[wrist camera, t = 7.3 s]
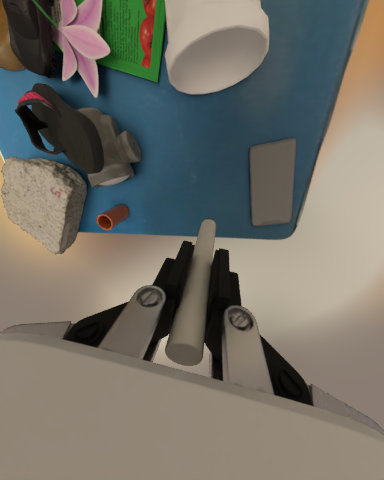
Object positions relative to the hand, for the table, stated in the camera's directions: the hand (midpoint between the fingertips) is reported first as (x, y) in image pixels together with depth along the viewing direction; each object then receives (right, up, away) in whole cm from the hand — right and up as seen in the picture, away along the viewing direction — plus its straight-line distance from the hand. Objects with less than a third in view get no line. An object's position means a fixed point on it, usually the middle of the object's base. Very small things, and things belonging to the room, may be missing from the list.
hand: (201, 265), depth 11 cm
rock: (-32, +13, +31) cm, 46 cm away
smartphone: (+14, +12, +22) cm, 29 cm away
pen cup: (-17, +8, +30) cm, 35 cm away
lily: (-19, +31, +9) cm, 38 cm away
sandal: (-20, +20, +17) cm, 33 cm away
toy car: (-24, +34, +16) cm, 45 cm away
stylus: (+1, +3, +7) cm, 8 cm away
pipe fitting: (-21, +17, +21) cm, 34 cm away
